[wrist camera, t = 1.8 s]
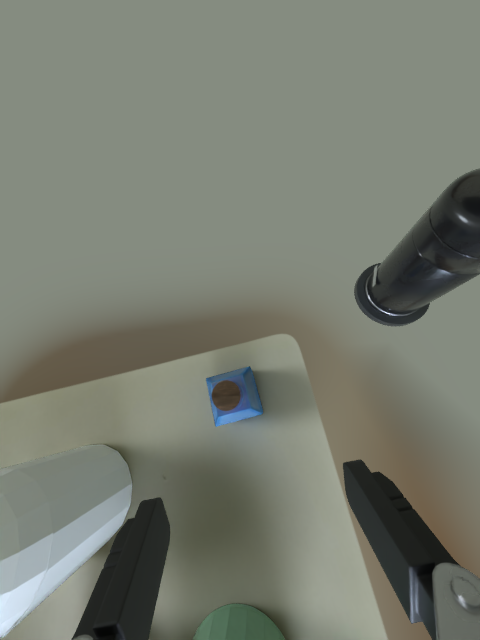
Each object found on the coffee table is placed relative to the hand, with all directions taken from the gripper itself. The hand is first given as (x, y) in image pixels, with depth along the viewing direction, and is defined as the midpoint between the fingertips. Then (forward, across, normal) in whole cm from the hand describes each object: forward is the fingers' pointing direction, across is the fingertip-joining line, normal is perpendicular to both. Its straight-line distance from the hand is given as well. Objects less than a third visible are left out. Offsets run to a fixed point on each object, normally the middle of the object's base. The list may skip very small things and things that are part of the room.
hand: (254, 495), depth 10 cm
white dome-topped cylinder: (+21, +25, +19) cm, 38 cm away
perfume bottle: (+25, +1, +10) cm, 27 cm away
